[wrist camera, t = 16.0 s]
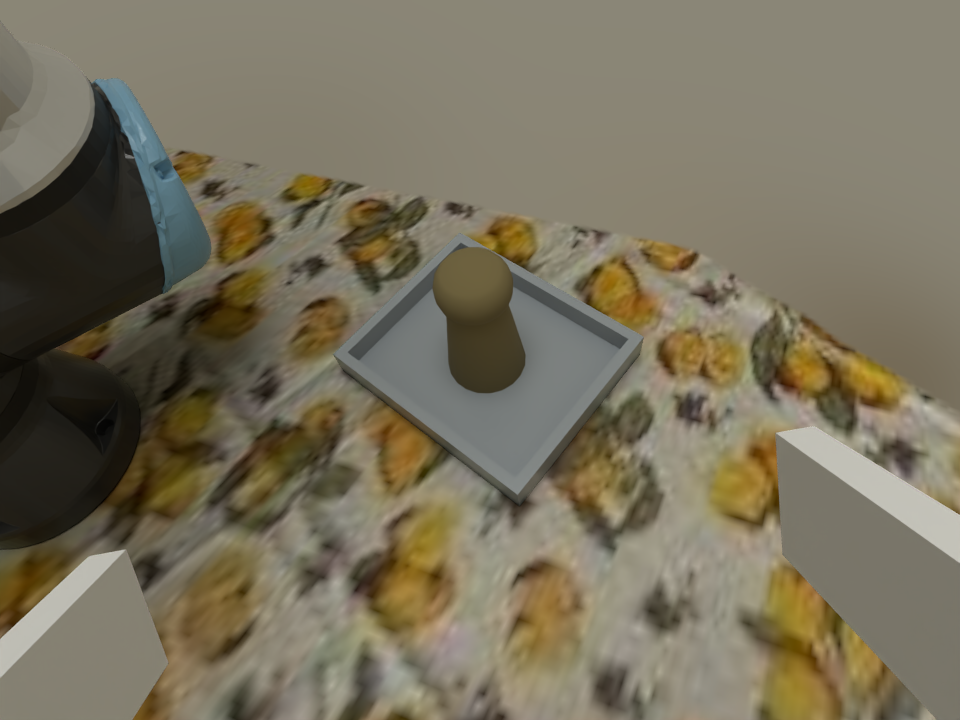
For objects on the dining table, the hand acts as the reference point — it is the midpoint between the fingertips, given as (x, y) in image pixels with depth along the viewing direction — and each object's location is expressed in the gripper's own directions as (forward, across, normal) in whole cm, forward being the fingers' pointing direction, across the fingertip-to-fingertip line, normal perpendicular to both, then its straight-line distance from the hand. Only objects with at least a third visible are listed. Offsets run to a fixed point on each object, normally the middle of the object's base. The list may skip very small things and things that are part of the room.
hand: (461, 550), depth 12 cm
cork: (+34, +1, -5) cm, 35 cm away
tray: (+34, +1, -5) cm, 35 cm away
